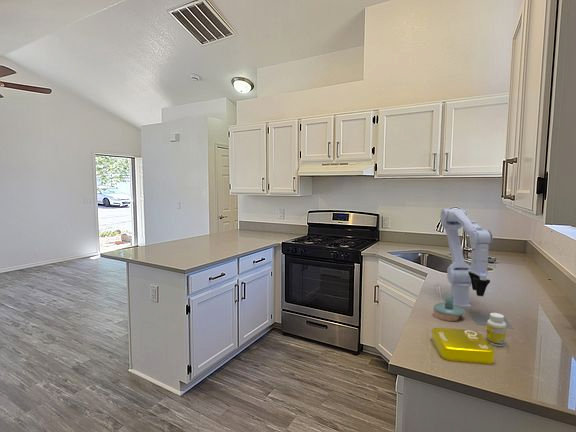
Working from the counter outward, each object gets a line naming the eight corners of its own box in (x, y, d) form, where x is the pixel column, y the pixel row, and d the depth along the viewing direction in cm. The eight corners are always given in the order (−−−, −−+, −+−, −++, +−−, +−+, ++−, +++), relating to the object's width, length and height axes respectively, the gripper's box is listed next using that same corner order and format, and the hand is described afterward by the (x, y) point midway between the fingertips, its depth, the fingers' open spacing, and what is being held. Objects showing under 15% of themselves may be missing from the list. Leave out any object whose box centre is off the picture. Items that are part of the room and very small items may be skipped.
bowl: (432, 311, 136) (432, 305, 135) (456, 314, 133) (456, 307, 132) (434, 320, 127) (435, 313, 127) (460, 323, 124) (460, 315, 124)
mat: (470, 314, 133) (470, 312, 133) (503, 317, 129) (503, 316, 129) (476, 325, 122) (476, 324, 122) (513, 330, 118) (513, 328, 118)
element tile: (430, 338, 113) (430, 325, 113) (476, 342, 110) (477, 328, 110) (442, 361, 98) (443, 346, 98) (496, 366, 96) (497, 350, 95)
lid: (432, 304, 136) (433, 290, 136) (461, 307, 133) (462, 293, 132) (435, 313, 126) (435, 298, 126) (466, 317, 122) (467, 302, 122)
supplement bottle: (487, 337, 113) (488, 310, 112) (506, 342, 109) (507, 314, 108) (484, 343, 108) (486, 315, 108) (504, 348, 105) (505, 319, 104)
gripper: (464, 255, 137) (463, 286, 138) (472, 263, 123) (470, 297, 124) (483, 256, 134) (482, 288, 136) (493, 264, 121) (491, 299, 122)
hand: (477, 292), depth 130 cm, fingers open, 7 cm apart
